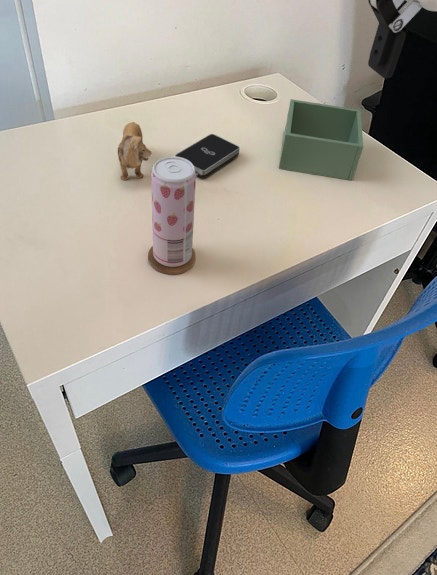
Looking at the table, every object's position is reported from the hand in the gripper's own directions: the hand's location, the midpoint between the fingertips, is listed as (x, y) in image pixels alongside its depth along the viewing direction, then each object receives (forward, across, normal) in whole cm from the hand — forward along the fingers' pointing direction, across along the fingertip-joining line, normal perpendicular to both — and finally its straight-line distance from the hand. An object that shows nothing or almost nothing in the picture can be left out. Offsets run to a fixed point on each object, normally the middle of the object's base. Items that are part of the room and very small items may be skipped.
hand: (421, 67), depth 47 cm
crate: (+32, +14, +33) cm, 48 cm away
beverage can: (+32, -20, +13) cm, 40 cm away
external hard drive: (+32, -7, +36) cm, 49 cm away
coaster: (+32, -21, +13) cm, 41 cm away
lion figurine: (+32, -20, +37) cm, 53 cm away
